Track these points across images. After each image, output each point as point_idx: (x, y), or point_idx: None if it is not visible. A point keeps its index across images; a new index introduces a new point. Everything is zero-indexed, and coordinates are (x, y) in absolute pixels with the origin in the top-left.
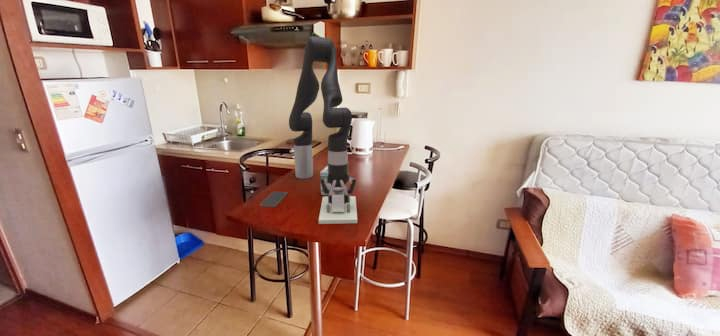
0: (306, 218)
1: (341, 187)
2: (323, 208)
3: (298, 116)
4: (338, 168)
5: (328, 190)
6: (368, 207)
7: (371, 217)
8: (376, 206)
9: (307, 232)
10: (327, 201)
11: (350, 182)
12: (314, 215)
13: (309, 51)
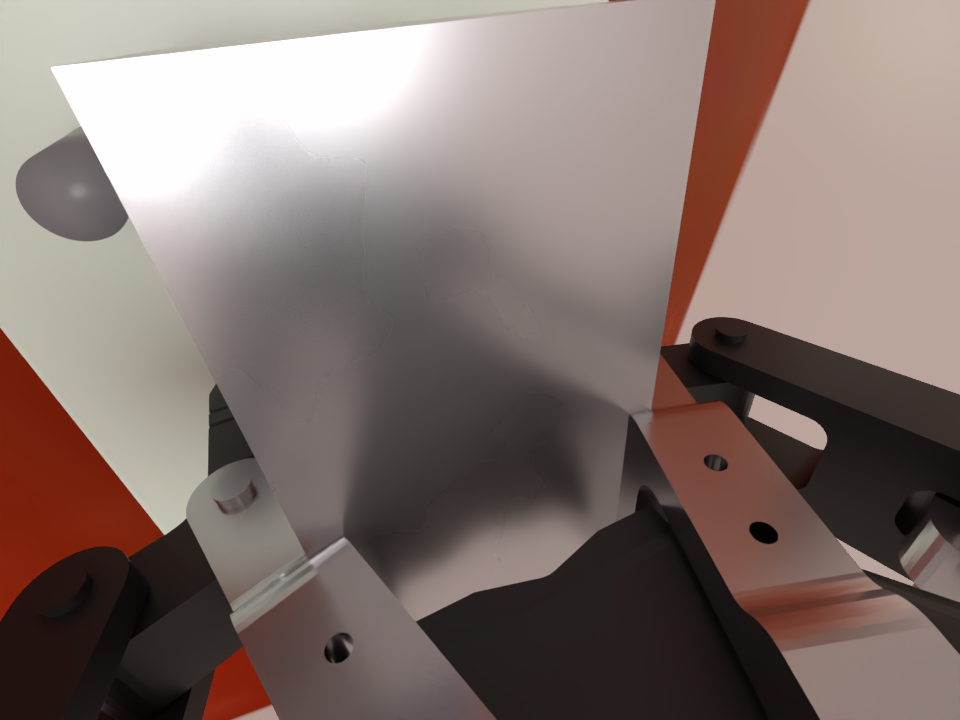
0: (8, 597)
1: (584, 453)
2: (142, 425)
3: None
4: None
5: (205, 627)
6: (700, 118)
7: (672, 342)
8: (781, 73)
9: (216, 708)
10: (12, 92)
11: (928, 582)
12: (68, 506)
13: None
